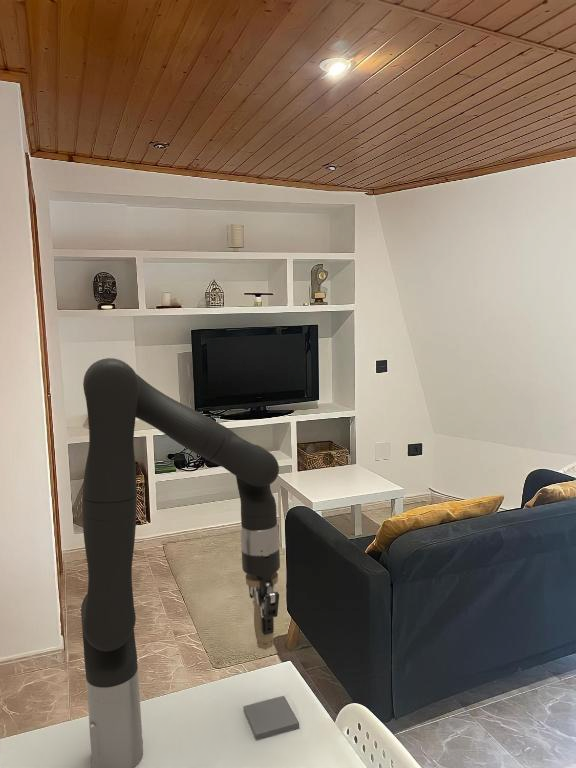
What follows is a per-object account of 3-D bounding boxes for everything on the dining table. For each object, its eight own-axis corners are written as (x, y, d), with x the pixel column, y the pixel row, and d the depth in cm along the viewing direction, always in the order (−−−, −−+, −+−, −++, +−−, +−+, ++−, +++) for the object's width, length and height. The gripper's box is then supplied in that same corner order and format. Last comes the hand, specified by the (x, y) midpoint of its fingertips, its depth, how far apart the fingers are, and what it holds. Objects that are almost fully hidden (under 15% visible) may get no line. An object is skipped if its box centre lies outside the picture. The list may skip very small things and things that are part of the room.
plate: (256, 740, 115) (255, 734, 114) (243, 711, 123) (243, 706, 123) (299, 728, 118) (299, 722, 117) (284, 700, 126) (284, 695, 126)
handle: (281, 651, 117) (278, 579, 115) (249, 654, 117) (245, 582, 115) (280, 638, 122) (277, 569, 120) (249, 640, 122) (245, 571, 120)
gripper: (232, 537, 122) (236, 615, 124) (253, 563, 109) (257, 650, 111) (266, 530, 125) (270, 607, 127) (290, 556, 111) (294, 641, 114)
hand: (264, 627), depth 119 cm, fingers closed on handle, 4 cm apart
